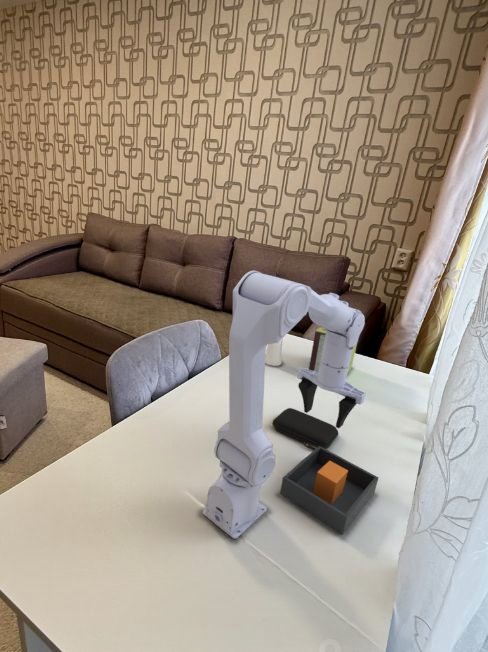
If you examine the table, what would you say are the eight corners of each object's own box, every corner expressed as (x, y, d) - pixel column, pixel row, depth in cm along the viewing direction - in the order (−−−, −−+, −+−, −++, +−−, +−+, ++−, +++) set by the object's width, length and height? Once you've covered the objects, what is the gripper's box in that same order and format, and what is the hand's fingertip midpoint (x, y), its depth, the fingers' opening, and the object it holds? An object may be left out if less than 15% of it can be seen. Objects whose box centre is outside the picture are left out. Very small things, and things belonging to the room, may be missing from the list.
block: (330, 505, 75) (336, 483, 73) (312, 494, 78) (317, 472, 76) (342, 492, 79) (348, 470, 77) (324, 481, 81) (329, 460, 79)
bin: (341, 536, 69) (346, 517, 68) (279, 495, 77) (282, 477, 76) (373, 494, 79) (378, 477, 78) (315, 462, 87) (319, 445, 86)
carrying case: (266, 431, 96) (323, 458, 89) (267, 421, 95) (325, 447, 88) (286, 413, 105) (339, 436, 97) (287, 403, 103) (342, 426, 96)
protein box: (351, 367, 133) (361, 325, 128) (339, 385, 121) (349, 339, 115) (321, 359, 138) (329, 317, 132) (306, 375, 126) (314, 330, 120)
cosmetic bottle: (262, 364, 131) (271, 300, 122) (264, 356, 136) (272, 295, 128) (281, 367, 130) (290, 303, 121) (282, 359, 135) (291, 298, 127)
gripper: (377, 369, 79) (362, 425, 84) (313, 346, 88) (303, 398, 93) (362, 380, 74) (348, 439, 79) (296, 354, 83) (287, 409, 88)
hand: (323, 418), depth 86 cm, fingers open, 7 cm apart
